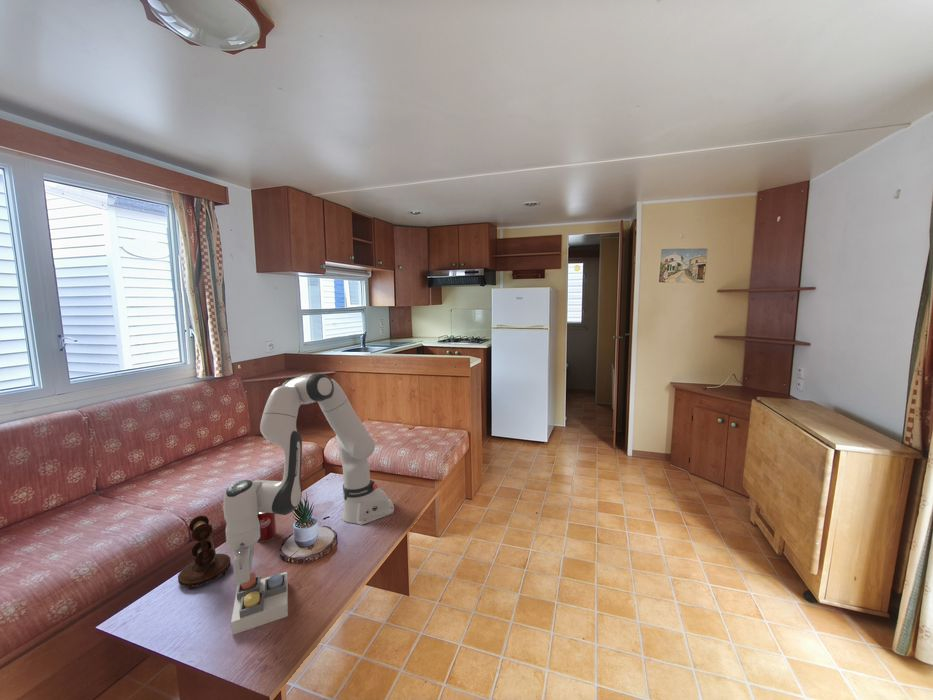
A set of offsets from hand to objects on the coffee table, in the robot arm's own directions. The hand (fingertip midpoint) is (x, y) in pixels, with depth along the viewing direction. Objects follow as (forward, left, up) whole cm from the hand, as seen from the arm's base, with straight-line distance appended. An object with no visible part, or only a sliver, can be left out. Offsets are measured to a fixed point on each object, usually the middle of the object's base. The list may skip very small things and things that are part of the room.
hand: (247, 577), depth 114 cm
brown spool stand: (+15, -21, -9) cm, 27 cm away
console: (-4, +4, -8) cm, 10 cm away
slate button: (-8, +3, -4) cm, 9 cm away
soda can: (-3, -35, -9) cm, 36 cm away
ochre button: (-2, +8, -4) cm, 9 cm away
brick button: (0, 0, -3) cm, 3 cm away
